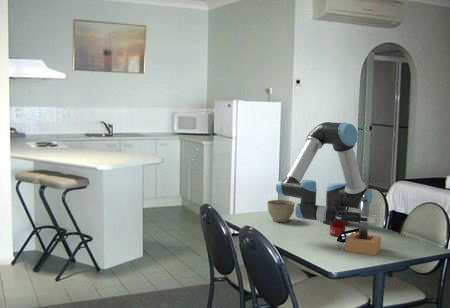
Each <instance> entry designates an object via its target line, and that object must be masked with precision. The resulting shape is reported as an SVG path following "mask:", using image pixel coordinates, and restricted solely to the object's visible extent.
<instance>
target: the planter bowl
mask: <svg viewBox="0 0 450 308" xmlns="http://www.w3.org/2000/svg"><path fill="white" fill-rule="evenodd" d="M266 205H267V211H268V213H269V216H270V217H271V219H272V221H273V222H276V223H285V222H288V221H290V218H292V216H293V213H294V212H295V206H296V202H295V201H292V200H285V199H274V200H273V199H271V200H268V201H267V202H266Z"/></svg>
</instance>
